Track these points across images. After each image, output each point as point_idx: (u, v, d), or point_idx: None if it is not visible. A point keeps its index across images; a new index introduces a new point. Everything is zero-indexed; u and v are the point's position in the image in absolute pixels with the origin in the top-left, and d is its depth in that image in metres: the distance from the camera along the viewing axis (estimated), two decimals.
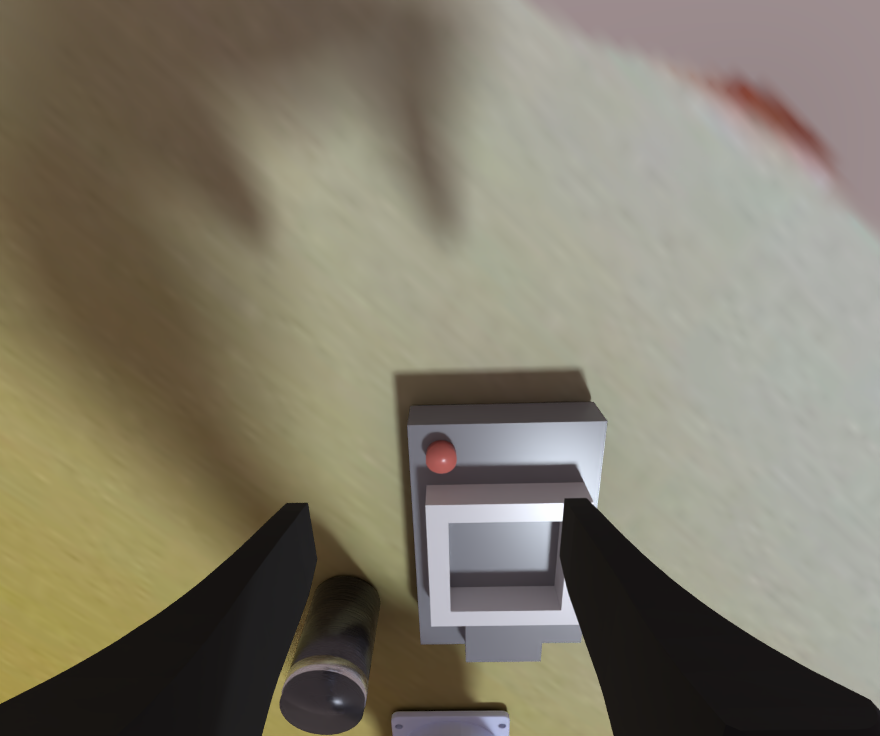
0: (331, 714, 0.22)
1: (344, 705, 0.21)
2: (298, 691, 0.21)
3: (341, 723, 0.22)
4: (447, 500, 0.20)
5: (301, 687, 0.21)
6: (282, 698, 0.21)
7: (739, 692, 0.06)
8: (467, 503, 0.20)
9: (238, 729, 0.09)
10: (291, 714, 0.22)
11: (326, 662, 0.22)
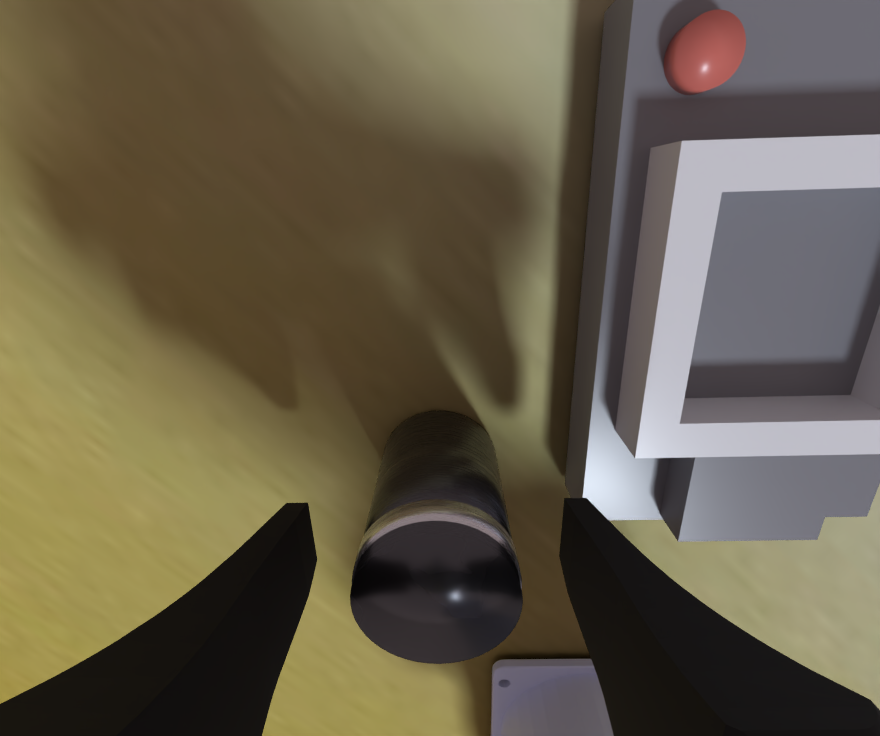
0: (454, 617, 0.11)
1: (484, 597, 0.10)
2: (392, 563, 0.10)
3: (471, 638, 0.11)
4: None
5: (400, 553, 0.10)
6: (357, 580, 0.10)
7: (739, 694, 0.06)
8: (771, 140, 0.09)
9: (238, 729, 0.09)
10: (372, 618, 0.11)
11: (446, 509, 0.10)
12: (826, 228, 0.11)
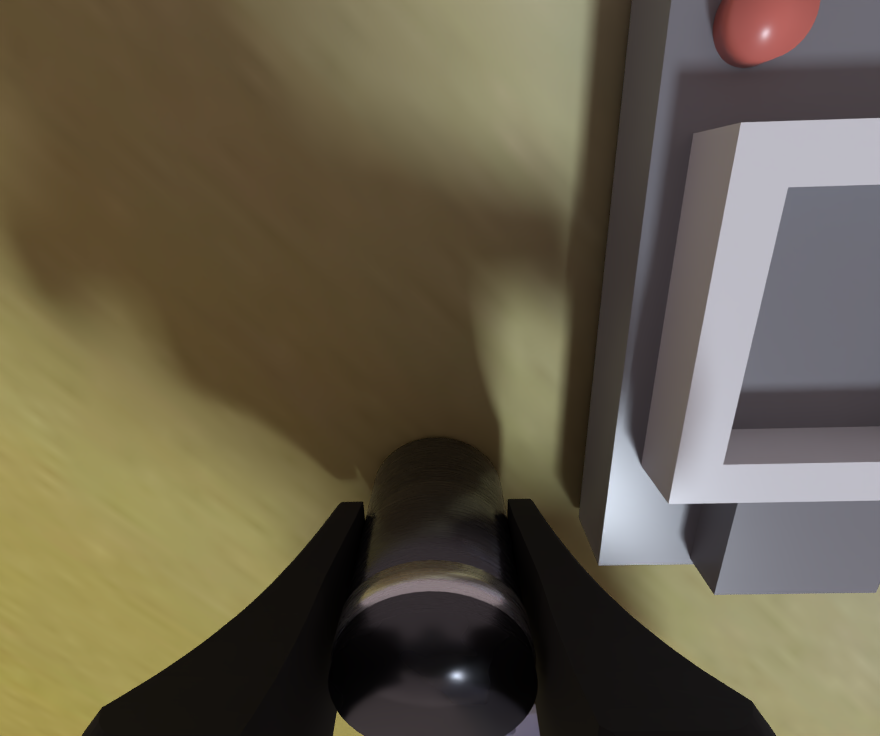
0: (455, 704, 0.09)
1: (491, 682, 0.09)
2: (378, 645, 0.08)
3: (475, 727, 0.09)
4: None
5: (388, 633, 0.08)
6: (336, 663, 0.08)
7: (625, 694, 0.06)
8: (852, 122, 0.07)
9: (318, 728, 0.09)
10: (355, 705, 0.09)
11: (445, 575, 0.09)
12: None
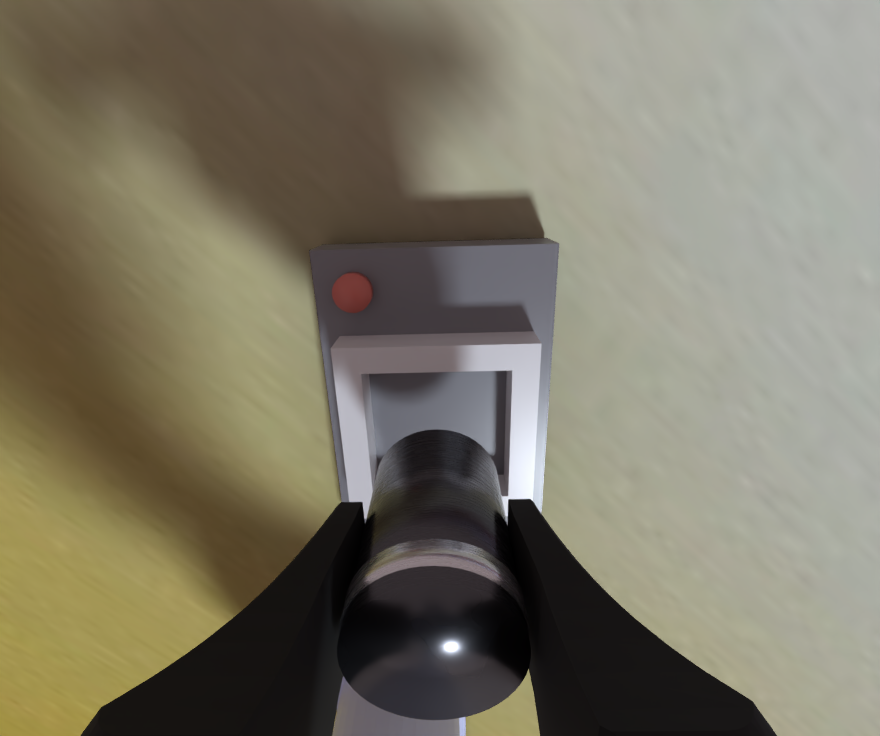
0: (451, 674, 0.09)
1: (488, 656, 0.09)
2: (394, 610, 0.09)
3: (464, 697, 0.10)
4: (359, 345, 0.16)
5: (405, 600, 0.09)
6: (350, 623, 0.09)
7: (626, 694, 0.06)
8: (383, 347, 0.16)
9: (317, 728, 0.09)
10: (358, 665, 0.09)
11: (460, 553, 0.09)
12: (458, 379, 0.18)
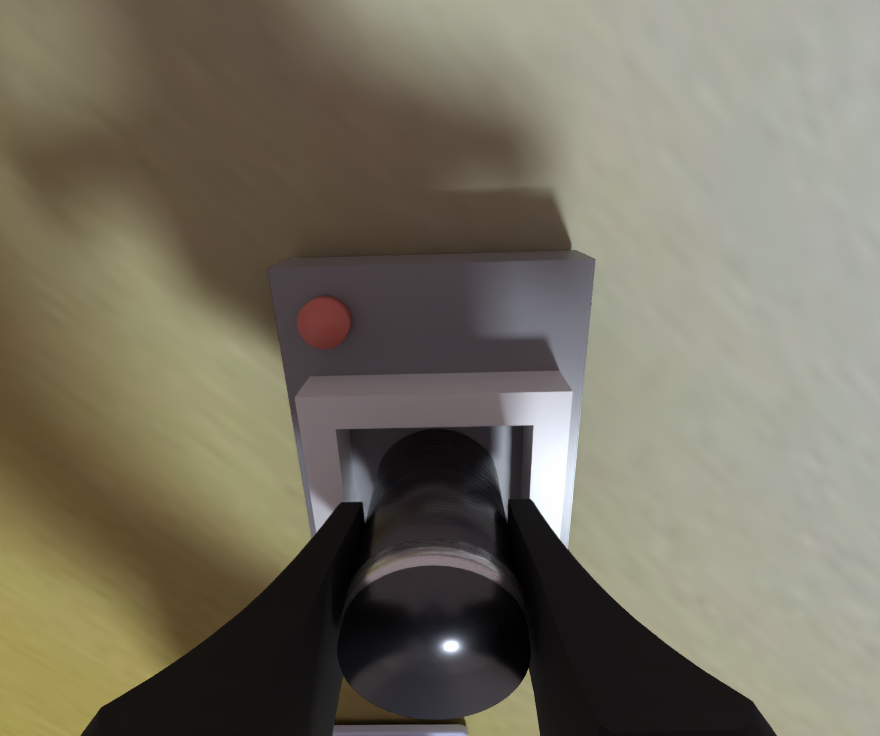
0: (451, 674, 0.09)
1: (488, 656, 0.09)
2: (394, 609, 0.09)
3: (464, 697, 0.10)
4: (333, 391, 0.13)
5: (405, 599, 0.09)
6: (350, 622, 0.09)
7: (625, 694, 0.06)
8: (365, 395, 0.12)
9: (317, 728, 0.09)
10: (358, 664, 0.09)
11: (461, 554, 0.09)
12: (462, 429, 0.14)
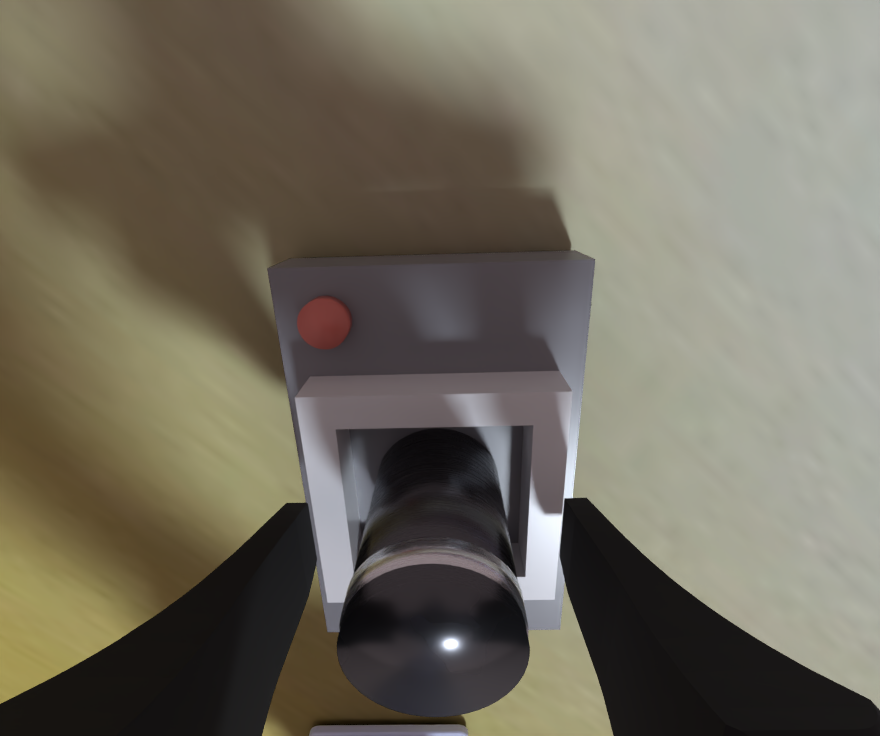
0: (450, 671, 0.10)
1: (487, 654, 0.09)
2: (393, 607, 0.09)
3: (463, 694, 0.10)
4: (333, 391, 0.13)
5: (405, 597, 0.09)
6: (350, 620, 0.09)
7: (739, 692, 0.06)
8: (365, 395, 0.12)
9: (238, 729, 0.09)
10: (358, 661, 0.10)
11: (460, 552, 0.09)
12: (462, 429, 0.14)
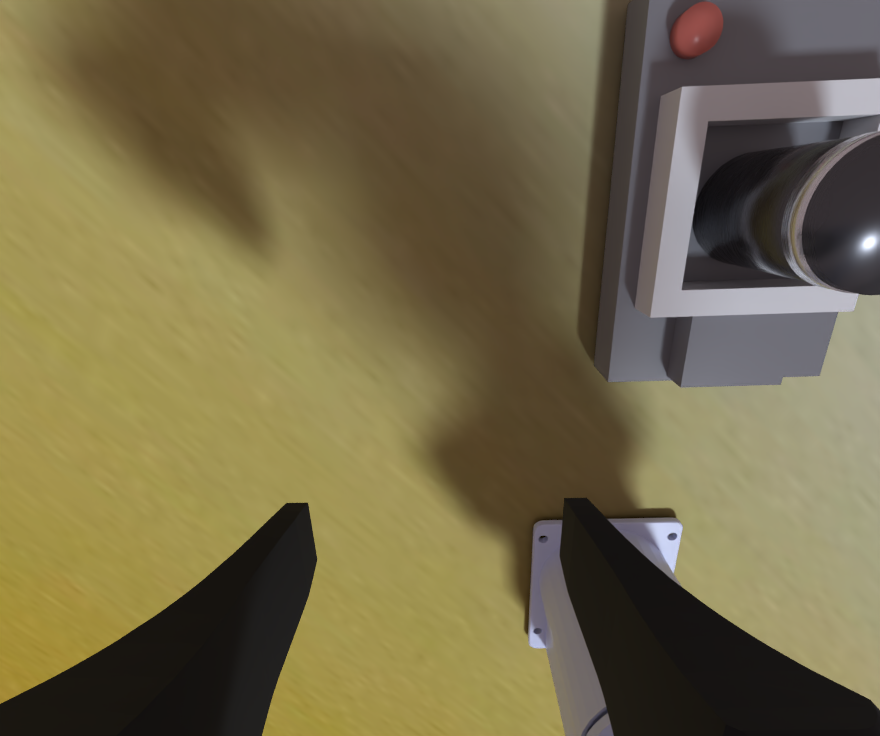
0: None
1: None
2: None
3: None
4: None
5: None
6: (844, 174, 0.11)
7: (739, 693, 0.06)
8: None
9: (238, 729, 0.09)
10: (830, 227, 0.11)
11: None
12: None
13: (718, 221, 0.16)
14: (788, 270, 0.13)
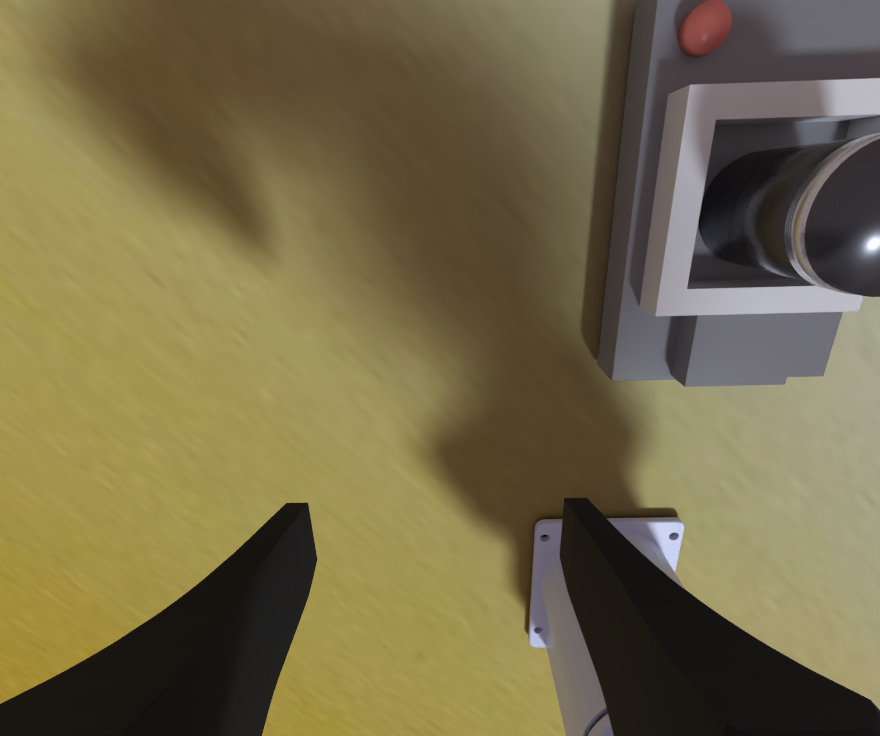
0: None
1: None
2: None
3: None
4: None
5: None
6: (848, 174, 0.11)
7: (739, 694, 0.06)
8: (747, 85, 0.14)
9: (238, 729, 0.09)
10: (833, 227, 0.11)
11: None
12: None
13: (722, 220, 0.16)
14: (790, 270, 0.13)
